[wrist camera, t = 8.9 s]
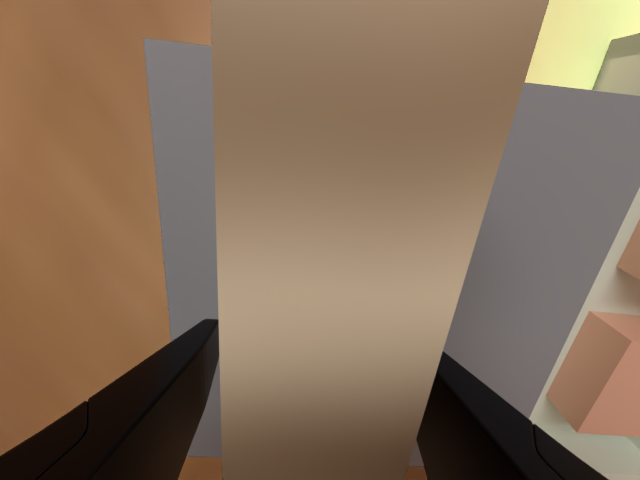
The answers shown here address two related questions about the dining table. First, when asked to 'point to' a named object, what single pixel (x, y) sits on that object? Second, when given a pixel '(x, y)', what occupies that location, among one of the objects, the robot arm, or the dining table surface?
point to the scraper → (349, 215)
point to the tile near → (632, 255)
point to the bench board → (492, 241)
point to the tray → (604, 300)
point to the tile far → (601, 377)
